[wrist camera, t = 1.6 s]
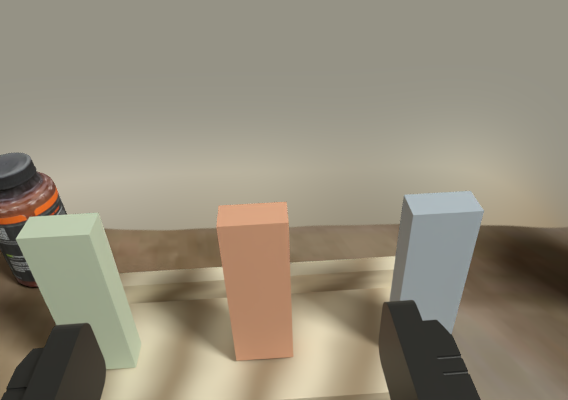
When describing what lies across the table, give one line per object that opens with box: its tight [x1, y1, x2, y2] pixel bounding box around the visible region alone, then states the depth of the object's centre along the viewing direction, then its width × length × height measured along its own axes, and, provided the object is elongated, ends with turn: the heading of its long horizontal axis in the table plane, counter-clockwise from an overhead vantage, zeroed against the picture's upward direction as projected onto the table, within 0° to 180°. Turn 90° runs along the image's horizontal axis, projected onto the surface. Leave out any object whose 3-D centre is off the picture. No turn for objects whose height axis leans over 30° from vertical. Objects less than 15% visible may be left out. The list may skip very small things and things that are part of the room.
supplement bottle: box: [0, 153, 67, 287], centre depth 41 cm, size 6×6×11 cm
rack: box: [100, 256, 396, 400], centre depth 36 cm, size 27×12×4 cm, turn 93°
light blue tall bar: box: [389, 191, 484, 334], centre depth 31 cm, size 4×2×12 cm, turn 93°
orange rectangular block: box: [217, 202, 293, 361], centre depth 30 cm, size 4×2×12 cm, turn 93°
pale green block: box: [16, 213, 141, 369], centre depth 30 cm, size 4×2×12 cm, turn 93°
